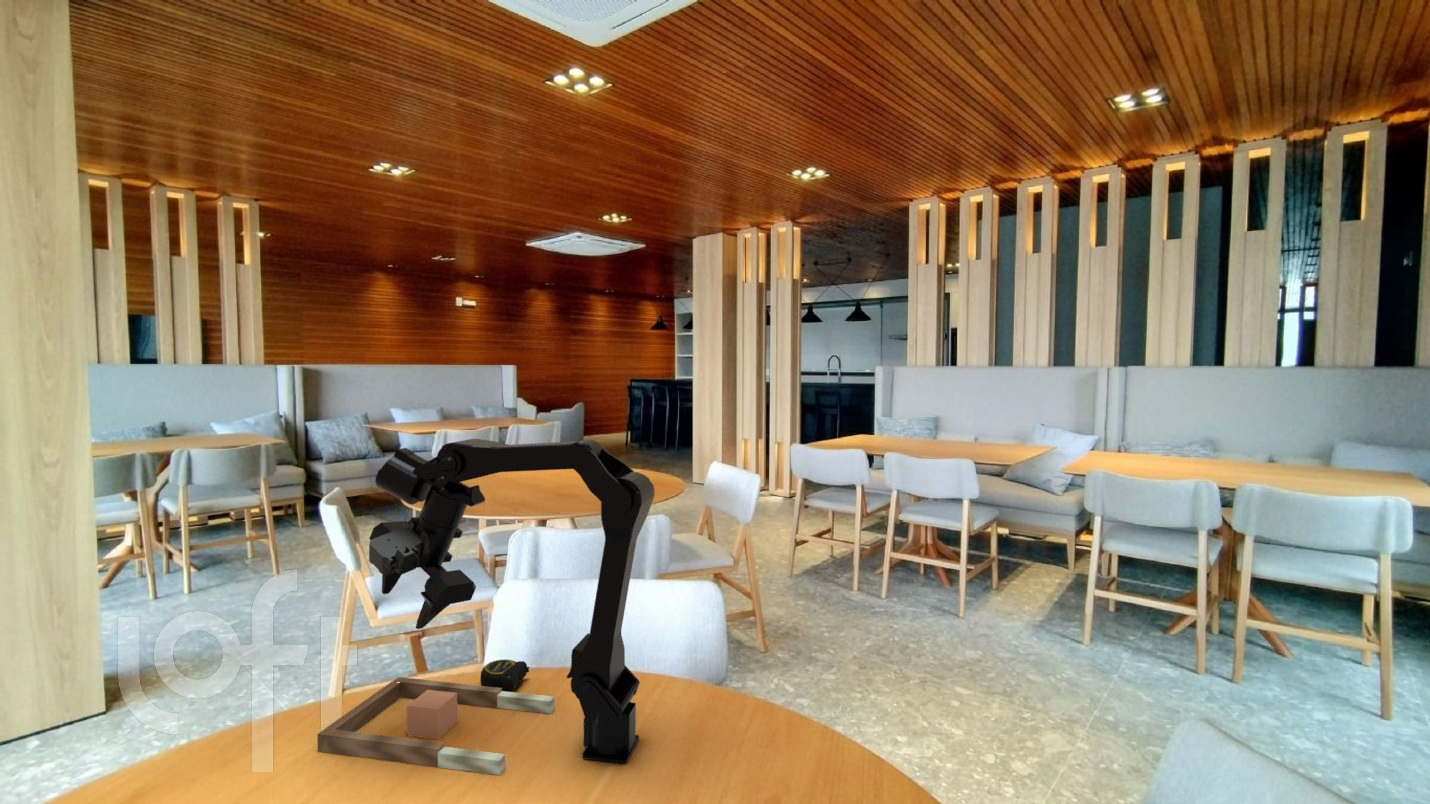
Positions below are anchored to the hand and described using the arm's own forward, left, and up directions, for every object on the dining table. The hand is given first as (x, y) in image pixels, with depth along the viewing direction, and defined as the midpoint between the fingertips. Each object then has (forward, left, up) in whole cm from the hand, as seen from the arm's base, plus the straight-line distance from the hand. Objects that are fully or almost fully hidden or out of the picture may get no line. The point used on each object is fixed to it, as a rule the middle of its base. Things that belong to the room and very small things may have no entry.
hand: (401, 610), depth 99 cm
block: (-5, 0, -18) cm, 18 cm away
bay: (-7, 0, -17) cm, 19 cm away
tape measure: (-10, -14, -18) cm, 25 cm away
